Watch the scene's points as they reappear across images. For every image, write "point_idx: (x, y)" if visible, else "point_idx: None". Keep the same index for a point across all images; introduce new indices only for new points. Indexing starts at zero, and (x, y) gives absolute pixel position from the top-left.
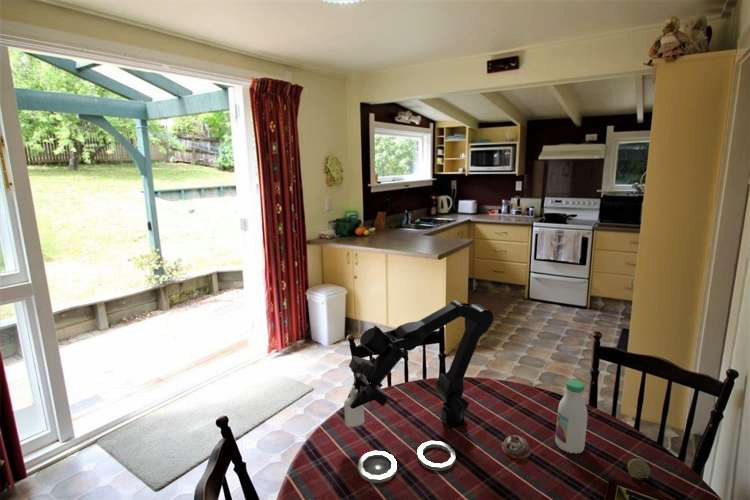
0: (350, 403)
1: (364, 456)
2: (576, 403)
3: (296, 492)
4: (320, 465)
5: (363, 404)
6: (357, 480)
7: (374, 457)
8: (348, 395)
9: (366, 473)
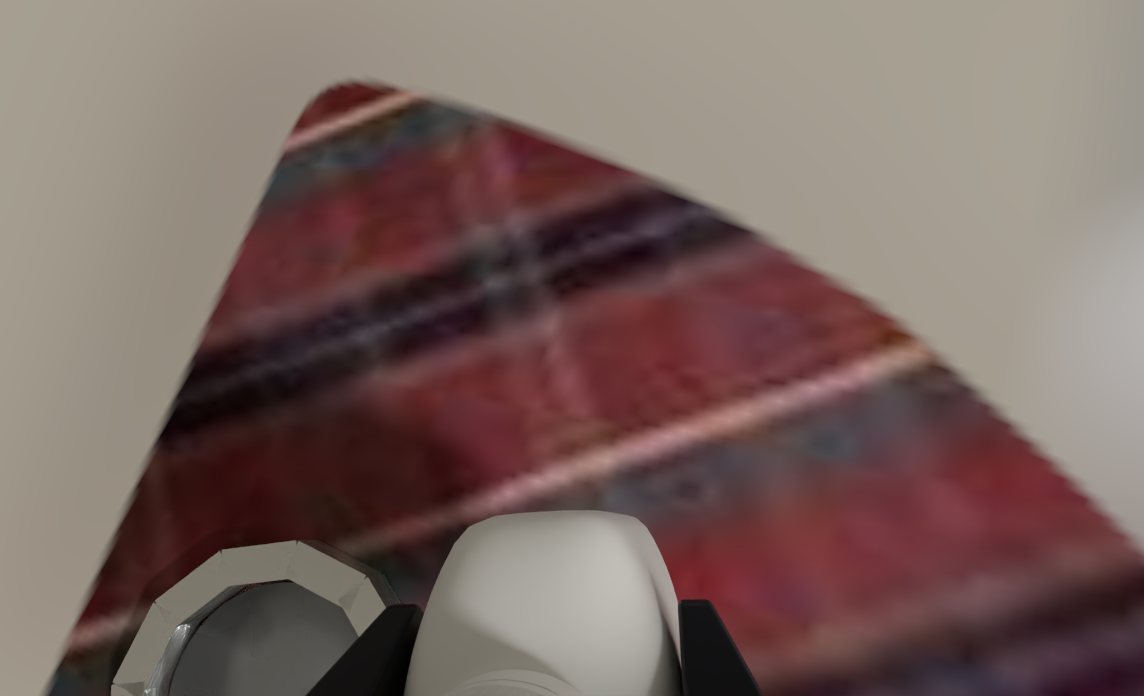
0: (422, 630)
1: None
2: None
3: (299, 126)
4: (466, 280)
5: None
6: (234, 512)
7: None
8: (747, 673)
9: (207, 590)
